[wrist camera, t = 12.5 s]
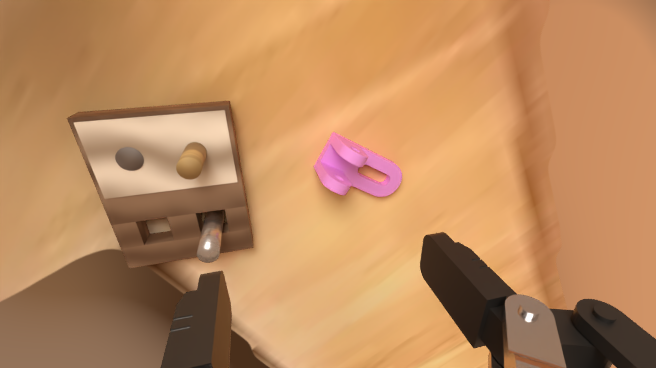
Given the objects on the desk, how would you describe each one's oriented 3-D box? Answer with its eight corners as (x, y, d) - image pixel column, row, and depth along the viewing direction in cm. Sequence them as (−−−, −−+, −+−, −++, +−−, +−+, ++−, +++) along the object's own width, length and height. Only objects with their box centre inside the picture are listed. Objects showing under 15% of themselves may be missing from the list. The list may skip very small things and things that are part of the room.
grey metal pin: (204, 207, 42) (194, 247, 34) (222, 204, 43) (217, 243, 35) (207, 221, 43) (199, 264, 35) (225, 219, 44) (221, 260, 36)
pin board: (78, 112, 34) (37, 132, 27) (229, 100, 37) (225, 116, 30) (135, 256, 43) (114, 298, 36) (253, 237, 46) (254, 272, 39)
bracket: (313, 166, 43) (324, 188, 37) (332, 131, 42) (347, 148, 36) (385, 197, 49) (404, 221, 43) (404, 167, 47) (428, 187, 41)
